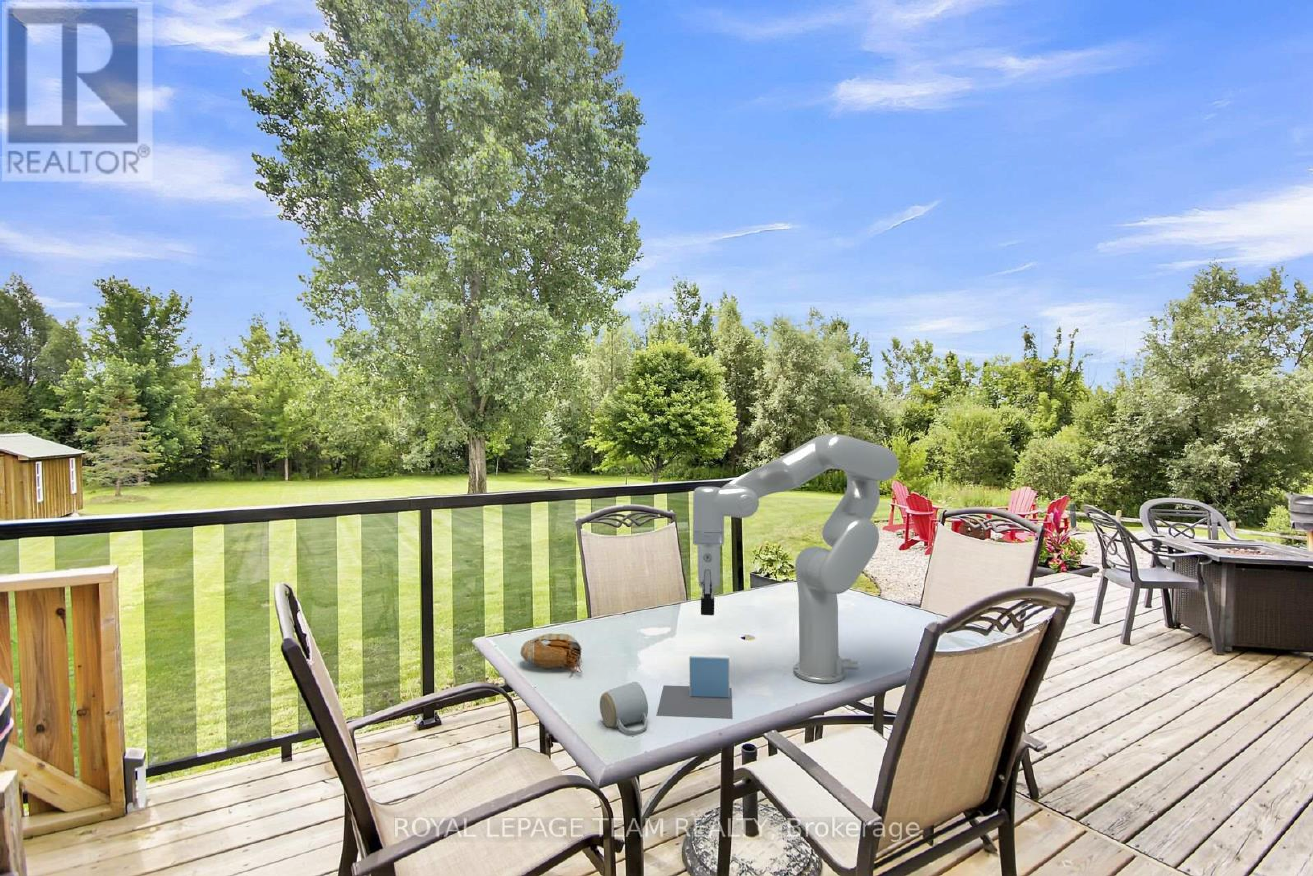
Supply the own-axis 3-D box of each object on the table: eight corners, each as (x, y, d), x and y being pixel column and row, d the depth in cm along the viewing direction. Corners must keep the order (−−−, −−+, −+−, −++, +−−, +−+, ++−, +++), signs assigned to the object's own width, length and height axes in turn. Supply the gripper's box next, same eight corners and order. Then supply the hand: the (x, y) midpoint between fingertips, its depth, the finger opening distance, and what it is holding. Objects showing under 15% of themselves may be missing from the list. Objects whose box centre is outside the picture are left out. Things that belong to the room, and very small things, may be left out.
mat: (731, 690, 140) (731, 687, 140) (732, 721, 124) (732, 718, 124) (663, 687, 141) (663, 685, 141) (656, 718, 125) (656, 715, 125)
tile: (729, 694, 136) (729, 655, 136) (729, 698, 134) (729, 658, 134) (690, 693, 137) (689, 654, 137) (689, 696, 135) (689, 657, 135)
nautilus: (602, 676, 150) (547, 694, 142) (565, 648, 168) (514, 662, 159) (602, 646, 150) (546, 661, 141) (564, 620, 167) (513, 633, 159)
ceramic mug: (597, 721, 124) (597, 684, 124) (631, 711, 129) (631, 676, 129) (621, 743, 115) (621, 703, 115) (657, 732, 120) (657, 694, 120)
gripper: (724, 543, 136) (723, 624, 135) (723, 534, 151) (723, 607, 150) (691, 542, 137) (690, 622, 136) (694, 533, 151) (693, 605, 151)
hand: (707, 614), depth 143 cm, fingers closed
